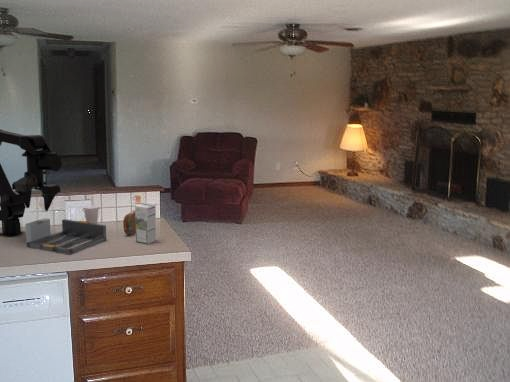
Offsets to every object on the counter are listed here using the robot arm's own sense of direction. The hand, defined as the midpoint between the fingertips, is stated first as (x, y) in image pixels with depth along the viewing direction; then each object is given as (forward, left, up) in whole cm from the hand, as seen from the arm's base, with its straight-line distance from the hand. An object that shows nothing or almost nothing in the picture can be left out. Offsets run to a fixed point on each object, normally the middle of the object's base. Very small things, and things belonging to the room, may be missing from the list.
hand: (37, 209), depth 208 cm
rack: (+14, 0, -12) cm, 18 cm away
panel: (0, 0, -12) cm, 12 cm away
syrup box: (+38, +16, -12) cm, 43 cm away
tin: (+26, +25, -12) cm, 38 cm away
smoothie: (+9, +20, -12) cm, 25 cm away
